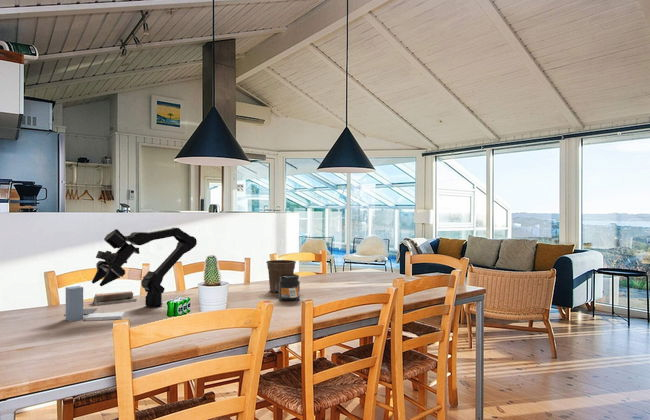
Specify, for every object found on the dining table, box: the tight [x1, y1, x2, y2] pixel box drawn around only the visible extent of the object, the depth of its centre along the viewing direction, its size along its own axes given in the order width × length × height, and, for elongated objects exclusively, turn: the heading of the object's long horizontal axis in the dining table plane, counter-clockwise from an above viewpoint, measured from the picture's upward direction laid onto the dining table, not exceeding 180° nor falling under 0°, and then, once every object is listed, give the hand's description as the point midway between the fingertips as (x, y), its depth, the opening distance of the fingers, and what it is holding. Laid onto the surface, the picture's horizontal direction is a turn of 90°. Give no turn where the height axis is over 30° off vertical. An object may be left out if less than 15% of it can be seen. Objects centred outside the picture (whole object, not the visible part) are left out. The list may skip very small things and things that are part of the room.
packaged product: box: [92, 291, 138, 307], centre depth 215 cm, size 18×5×10 cm
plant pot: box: [266, 259, 297, 293], centre depth 244 cm, size 16×16×16 cm
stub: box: [65, 285, 84, 322], centre depth 181 cm, size 5×5×13 cm
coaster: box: [63, 308, 98, 317], centre depth 192 cm, size 10×10×1 cm
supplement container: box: [278, 273, 301, 302], centre depth 221 cm, size 10×10×12 cm
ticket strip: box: [83, 311, 126, 322], centre depth 183 cm, size 14×7×1 cm, turn 103°
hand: (96, 284), depth 187 cm, fingers open, 9 cm apart
